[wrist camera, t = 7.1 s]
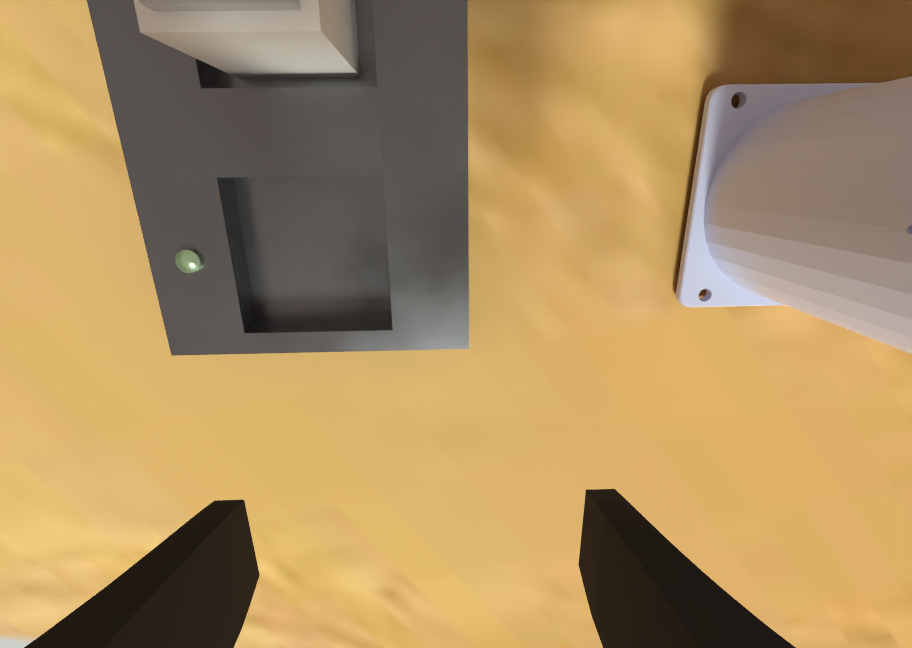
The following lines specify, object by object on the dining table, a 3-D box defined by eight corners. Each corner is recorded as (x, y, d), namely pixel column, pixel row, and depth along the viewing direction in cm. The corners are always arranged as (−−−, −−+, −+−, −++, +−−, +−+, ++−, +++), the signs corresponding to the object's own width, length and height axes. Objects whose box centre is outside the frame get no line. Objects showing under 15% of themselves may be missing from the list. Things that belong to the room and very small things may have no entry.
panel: (463, -127, 14) (466, -182, 12) (466, 330, 18) (469, 350, 16) (100, -128, 13) (38, -183, 11) (199, 336, 18) (168, 357, 16)
